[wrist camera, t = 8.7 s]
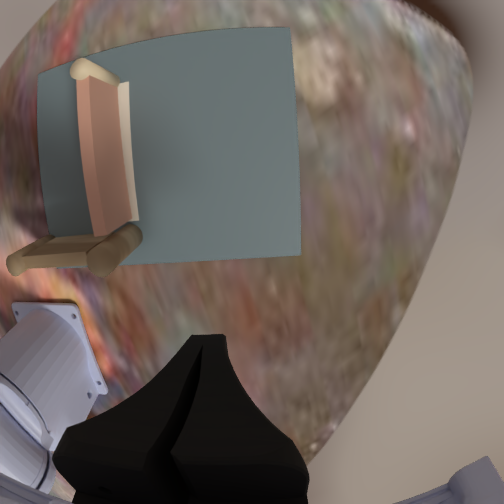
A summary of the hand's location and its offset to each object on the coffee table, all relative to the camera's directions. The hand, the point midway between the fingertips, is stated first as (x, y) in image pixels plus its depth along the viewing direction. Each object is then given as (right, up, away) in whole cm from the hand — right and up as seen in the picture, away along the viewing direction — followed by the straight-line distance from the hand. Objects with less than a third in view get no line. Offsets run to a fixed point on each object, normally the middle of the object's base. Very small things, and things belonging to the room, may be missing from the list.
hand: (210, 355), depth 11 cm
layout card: (-5, +11, +6) cm, 13 cm away
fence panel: (-7, +11, +5) cm, 14 cm away
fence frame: (-10, +5, +8) cm, 13 cm away
